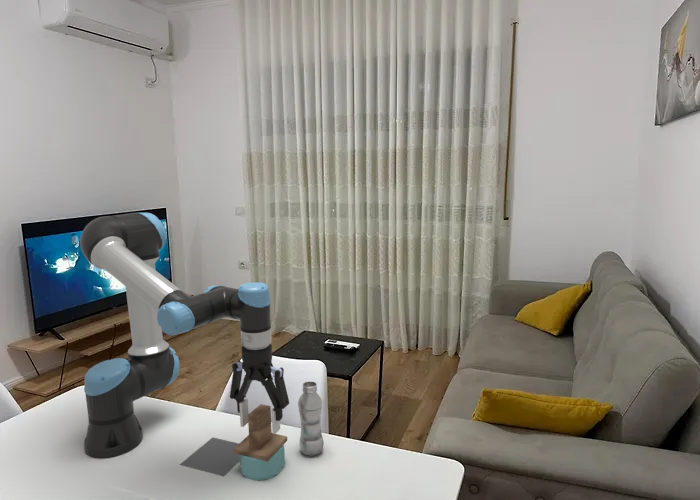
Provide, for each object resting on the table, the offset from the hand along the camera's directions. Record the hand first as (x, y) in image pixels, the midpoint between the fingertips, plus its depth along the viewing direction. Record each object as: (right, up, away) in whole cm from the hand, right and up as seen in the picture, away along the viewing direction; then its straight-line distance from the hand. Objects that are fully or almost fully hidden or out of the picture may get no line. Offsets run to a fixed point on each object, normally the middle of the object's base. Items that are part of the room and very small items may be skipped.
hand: (260, 427), depth 128 cm
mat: (-13, -10, +7) cm, 18 cm away
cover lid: (0, -5, +1) cm, 5 cm away
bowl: (0, -11, +2) cm, 11 cm away
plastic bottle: (+13, -10, +9) cm, 18 cm away
